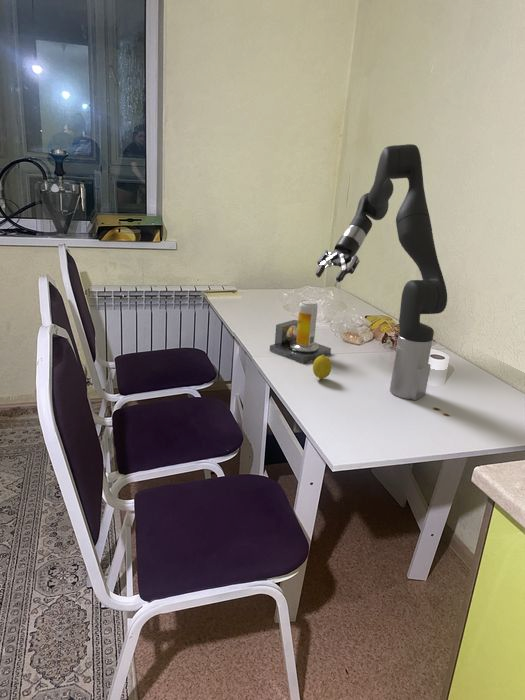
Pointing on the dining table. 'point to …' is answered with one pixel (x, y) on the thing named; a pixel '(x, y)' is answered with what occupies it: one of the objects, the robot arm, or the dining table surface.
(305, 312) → the beer can
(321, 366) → the lemon
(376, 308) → the dining table surface
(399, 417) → the dining table surface
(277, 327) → the scale
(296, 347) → the pan
